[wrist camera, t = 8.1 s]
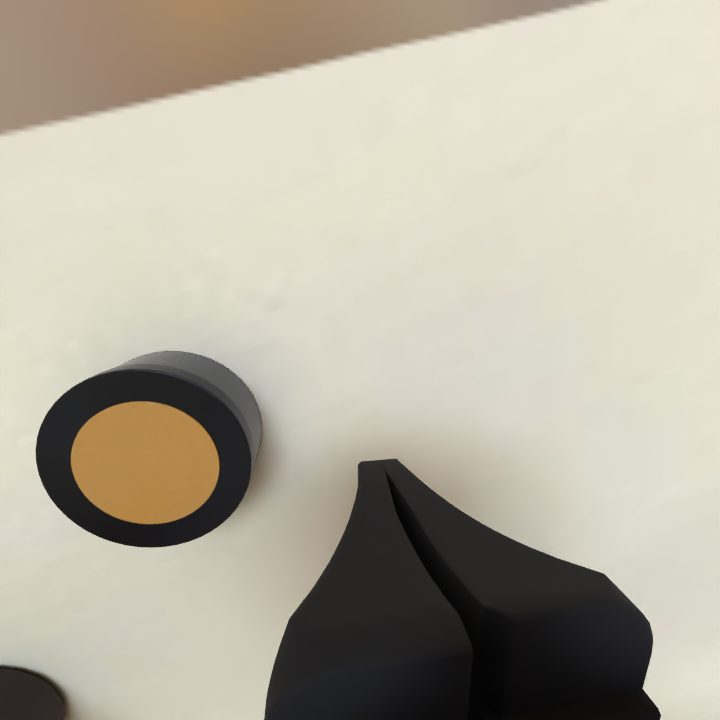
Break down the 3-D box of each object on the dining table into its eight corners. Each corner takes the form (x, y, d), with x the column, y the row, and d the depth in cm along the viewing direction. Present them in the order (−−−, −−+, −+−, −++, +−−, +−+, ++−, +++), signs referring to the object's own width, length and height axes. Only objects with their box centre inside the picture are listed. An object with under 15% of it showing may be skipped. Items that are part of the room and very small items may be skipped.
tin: (269, 490, 17) (259, 537, 14) (109, 505, 16) (61, 560, 13) (255, 345, 15) (240, 364, 12) (73, 353, 14) (7, 376, 11)
